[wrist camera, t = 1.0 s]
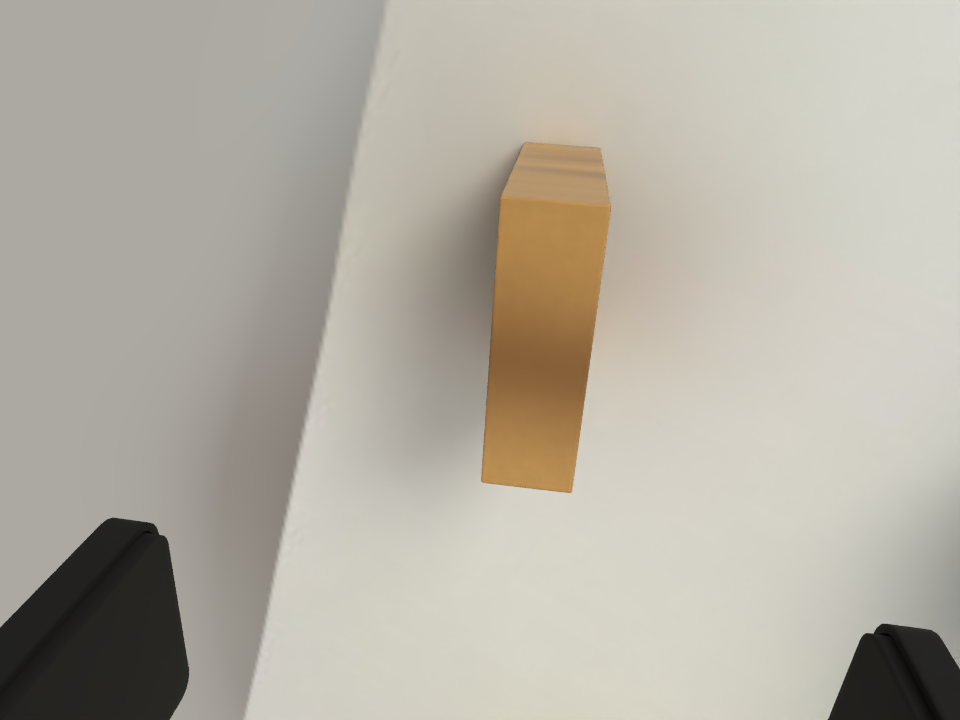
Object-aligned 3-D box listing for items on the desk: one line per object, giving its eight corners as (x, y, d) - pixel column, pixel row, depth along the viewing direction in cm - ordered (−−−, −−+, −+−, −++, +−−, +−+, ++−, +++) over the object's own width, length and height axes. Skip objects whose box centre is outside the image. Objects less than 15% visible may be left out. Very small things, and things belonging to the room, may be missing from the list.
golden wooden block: (524, 141, 22) (500, 196, 15) (600, 148, 22) (611, 205, 15) (506, 359, 25) (480, 482, 19) (573, 366, 25) (571, 494, 18)
